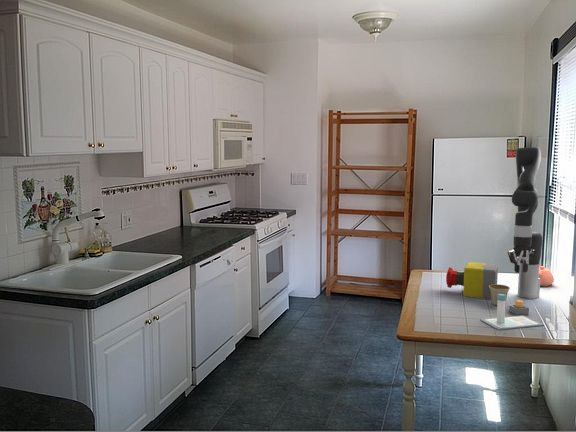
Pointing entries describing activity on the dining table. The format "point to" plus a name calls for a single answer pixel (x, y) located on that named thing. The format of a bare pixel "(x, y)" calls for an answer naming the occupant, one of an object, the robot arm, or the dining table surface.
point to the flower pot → (498, 292)
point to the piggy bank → (545, 276)
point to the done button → (519, 303)
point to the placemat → (512, 322)
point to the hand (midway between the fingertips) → (520, 272)
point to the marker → (501, 308)
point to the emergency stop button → (474, 279)
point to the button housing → (518, 310)
